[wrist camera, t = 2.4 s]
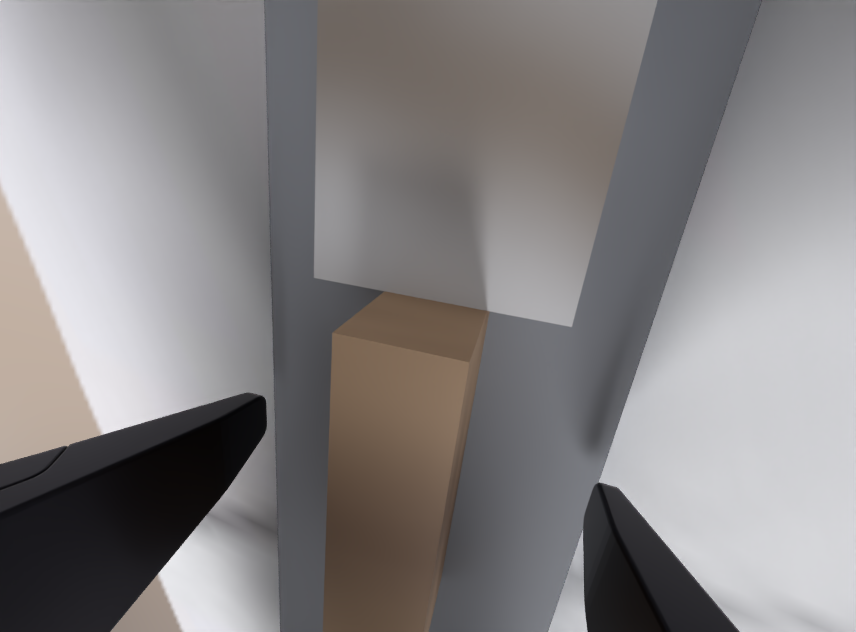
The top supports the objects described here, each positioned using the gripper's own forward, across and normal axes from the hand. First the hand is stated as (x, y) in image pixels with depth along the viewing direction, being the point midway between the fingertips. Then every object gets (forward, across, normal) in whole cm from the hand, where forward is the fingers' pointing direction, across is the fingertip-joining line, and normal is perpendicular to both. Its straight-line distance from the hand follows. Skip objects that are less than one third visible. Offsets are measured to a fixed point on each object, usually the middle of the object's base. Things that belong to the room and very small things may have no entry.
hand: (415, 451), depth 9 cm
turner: (+1, 0, -2) cm, 2 cm away
